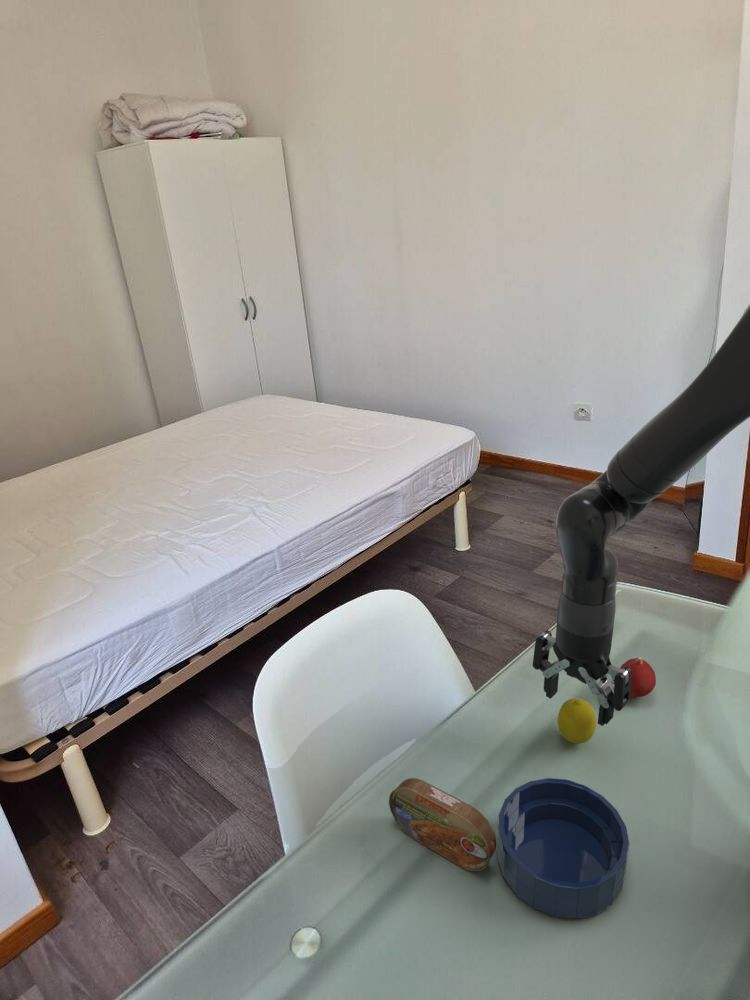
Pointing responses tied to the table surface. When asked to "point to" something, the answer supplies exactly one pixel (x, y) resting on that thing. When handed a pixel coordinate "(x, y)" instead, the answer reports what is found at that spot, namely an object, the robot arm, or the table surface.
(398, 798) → the tin
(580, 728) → the lemon
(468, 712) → the table surface
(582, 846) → the bowl
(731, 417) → the robot arm
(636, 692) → the onion
